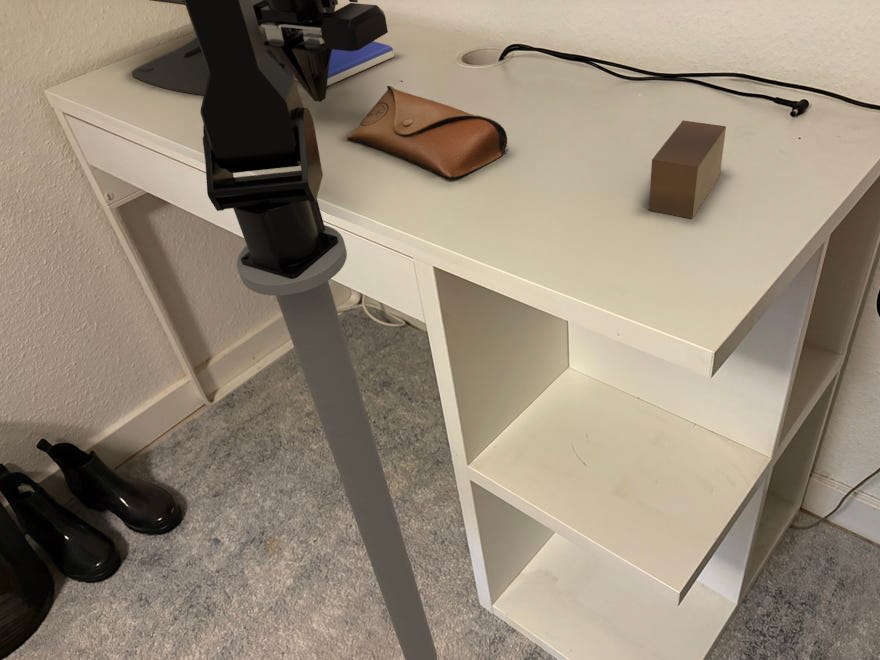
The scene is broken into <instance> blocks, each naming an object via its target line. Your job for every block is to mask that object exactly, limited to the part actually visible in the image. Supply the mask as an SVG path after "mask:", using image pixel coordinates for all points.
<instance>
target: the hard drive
mask: <svg viewBox="0 0 880 660" xmlns="http://www.w3.org/2000/svg"><path fill="white" fill-rule="evenodd" d="M394 57H395V53H394V49H393V47H392V46H391V45H388V44H385V43H381V42H378V41H375V40H374V41H373V42H371V43H370V44H368V45H366V46H365V47H363V48H361V49H360V50H356V51H342V50H334V49H333V50H332V53H331V58H330V63H329V71H328V81H327V87H328V86H331V85H333V84H335V83H338V82H339V81H342V80H344V79H347V78H348V77H351V76H354V75H355V74H358V73H360V72H363V71H365V70H367V69H369V68H371V67H374V66H376V65H378V64H381V63H383V62H386V61H388V60H390V59H392V58H394ZM295 79H296V78H295ZM296 82H298V80H297V79H296Z"/></svg>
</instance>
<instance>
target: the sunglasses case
mask: <svg viewBox="0 0 880 660" xmlns="http://www.w3.org/2000/svg"><path fill="white" fill-rule="evenodd" d="M386 88H387V90H386V91H385V92H384V93H383V94H382V96H381V97H380V98H379V99H378V101H377V102H376V103H375V105H374V106H372V108H371V109H370V111H368V113H367V114H366V115H365V117H364V118H363V119H362V120H361V121H360V123H359V124H358V125H357V126H356V128H355V129H354V130H353V132H352V133H351V134H347V135H346V139H347V140H351V141H355V142H359V143H362V144H365V145H368V146H371V147H373V148H375V149H378V150H380V151H382V152H385V153H387V154H390V155H393V156H395V157H398V158H400V159H402V160H405V161H406V162H409V163H410V164H413V165H415V166H418V167H420V168H422V169H425V170H427V171H430V172H433V173H435V174H438V175H440V176H443V177H447V178H449V179H452V178H460V177H463V176H465V175H468V174H472V173H473V172H476V171H478V170H479V169H481V168H483V167H485V166H487V165H489V164H491V163H493V162H495V161H497V160H498V159H500V158H502V156H503V155H504V153H506V152H505V151H506V150H507V149H506V148H507V146H508V135H507V132H506V130H505V128H504V127H503V126H502V124H500V123H499V122H497V121H496V120H494V119H491V118H490V117H486V116H482V115H477V114H472V113H469V112H466V111H464V110H462V109H459V108H456V107H453V106H450V105H447V104H444V103H441V102H438V101H435V100H432V99H429V98H425V97H421V96H418V95H415V94H411V93H408V92H404V91H402V90H400V89H396V88H395V87H393V86H391V85H387V86H386Z"/></svg>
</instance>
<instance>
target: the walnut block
mask: <svg viewBox="0 0 880 660" xmlns="http://www.w3.org/2000/svg"><path fill="white" fill-rule="evenodd" d="M726 131H727V126H726V125H720V124H714V123H713V124H711V123H706V122H705V123H704V122H698V121H691V120H681V122H680V123H679V124H678V126H677V127H676V129H675V130H674V131H673V132H672V134H671V135H670V136H669V137H668V138H667V139H666V141H665V142H664V144H663V145H662V146H661V147H660V149H659V150H658V151H657V152H656V153H655V155H654V156H653V158H652V159H651V168H650V182H649V183H650V184H649V200H648V211H649V212H656V213H659V214H660V213H661V214H666V215H671V216H675V217H676V216H677V217H680V218H681V217H682V218H685V219H693V218H694V217H695V215H696V213H697V212H698V211H699V209H700V207H701V206H702V204H703V203H704V201H705V200H706V198H707V197H708V195H709V193H710V192H711V191H712V189H713V187H714V186H715V184H716V183H717V182H718V179H719V178H720V176H721V170H722V169H721V168H722V161H723V153H724V145H725V138H726Z"/></svg>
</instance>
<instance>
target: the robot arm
mask: <svg viewBox="0 0 880 660" xmlns="http://www.w3.org/2000/svg"><path fill="white" fill-rule="evenodd" d="M348 1H349V3H347V4H346V5H344V6H342V7H340V8H338V9H336V10H335V12H333V13H326V11H325V9H326V8H328V7H330V8H332V7H334V6H335V7H336V6H337V5H339V0H184V2H185V5H184V6H185V8H186V11H187V14H188V16H189V19H190V23H191V25H192V29H193V31H194V34H195V38H196V37H197V40H198V43H199V46H200V49H201V51H202V54H203V57H204V60H205V63H206V66H207V69H208V73H209V76H208V80H207V84H206V88H205V93H204V95H203V96H202V97H203V98H202V102H201V106H200V111H199V112H200V117H201V119H202V123H203V127H202V131H203V132H202V133H203V136H202V146H203V147H202V148H203V153H204V163H205V164H204V165H205V179H206V193H207V197H208V199H209V201H210V203H211V204H212V205H213V207H214V208H215V210H216V211H217V212H220V211H225V210H231V209H233V212H234V214H235V217H236V220H237V222H238V226H239V228H240V230H241V234H242V236H243V239H244V242H245V244H246V246H247V247H248V250H249V252H248V253H247V254H245V255H244V256H243V257H242V258H241V262H242V264H243V265H245V266H249V267H252V268H255V269H259V270H262V271H265V272H269V273H272V274H275V275H279V276H282V277H285V278H289V279H295V278H297V277H299V276H300V275H301V274H302V273H303V272H305V271H306V270H307V269H308V268H309V267H310V266H312V265H313V264H314V263H315V262H316V261H317V260H319V259H320V258H321V257H322V256H323V255H325V254H326V253H327V252H328V251H329V250H330V249H332V248H333V247H334V246H335V245H336V244H337V243H338V238H337V236H334V235H330V234H326V233H324V231H325V226H326V225H325V223H324V219H323V216H322V213H321V208H320V205H319V202H318V195H319V191H320V187H321V183H322V180H323V177H324V176H323V175H324V174H323V173H324V172H323V168H322V162H321V156H320V150H319V143H318V140H317V134H316V129H315V128H316V127H315V122H314V118H313V116H312V114H311V111H310V109H309V108H308V107H307V106H306V107H305V106H304V104H303V101H302V98H301V95H300V92H299V88H298V84H297V82H298V83H299V84H300V85H301V87H302V88H303V89H304V90H305V91H306V93H307V94H308V95H309V97H310V98H311V99H312V100H313V101H314V102H317V103H321V102H324V101H325V100H326V98H327V89H328V86H327V81H328V71H329V63H330V58H331V53H332V50H333V49H334V50H342V51H356V50H360V49H361V48H363V47H365V46H366V45H368V44H370V43H371V42H373V41H374V42H375V41H376V40H378V39H380V38H382V37H383V36H384V35H386V34H388V33H389V31H388V25H387V19H386V14H385V12H384V11H383V10H382V8H380V7H379V6H378V5H377V4H370V3H369V4H368V3H358V2H359V0H348ZM308 21H312V22H308ZM260 27H261V28H263V29H264V31H265V32H264V33H266V36H267V40H268V41H266V42H264V43H263V39H262V36H261V34H262V33H261V29H260ZM265 48H266V49H269V50H271V51H272V52H273V53H274V55H275V56H276V57H277V58H278V59H279V60H280V61H281V62H282V63H283V64H278V63H277V62H276V61H275V60H274V59H273V58H272V57H271V56H270V55H269V54H268V53H267V52H266V49H265ZM295 78H296V79H297V80H298V81H297V80H296V79H295ZM295 167H296V168H297V167H300V170H294V171H292V170H291V171H283V172H272V173H263V174H254V175H243V176H234V174H237V173H247V172H256V171H258V172H259V171H265V170H266V171H268V170H276V169H287V168H295ZM324 225H325V226H324Z"/></svg>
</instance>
